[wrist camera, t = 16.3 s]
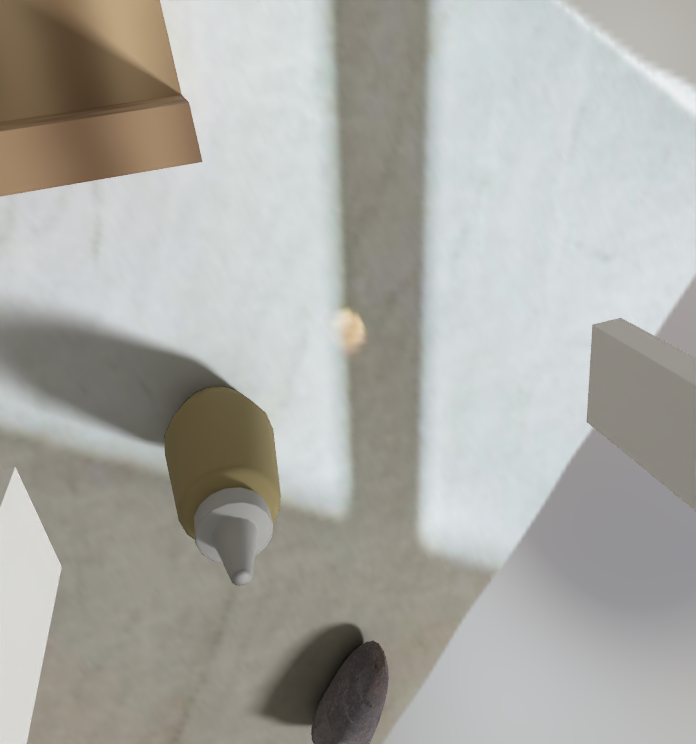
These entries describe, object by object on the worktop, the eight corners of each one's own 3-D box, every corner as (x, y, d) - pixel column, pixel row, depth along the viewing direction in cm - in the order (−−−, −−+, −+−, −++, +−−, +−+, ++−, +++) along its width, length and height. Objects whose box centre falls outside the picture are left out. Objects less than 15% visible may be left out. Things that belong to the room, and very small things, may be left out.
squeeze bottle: (155, 456, 50) (153, 632, 34) (172, 365, 47) (179, 512, 31) (254, 465, 52) (294, 632, 37) (276, 379, 50) (330, 521, 34)
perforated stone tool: (351, 623, 64) (371, 681, 58) (394, 629, 66) (418, 685, 60) (295, 725, 68) (308, 789, 62) (338, 727, 70) (354, 789, 64)
